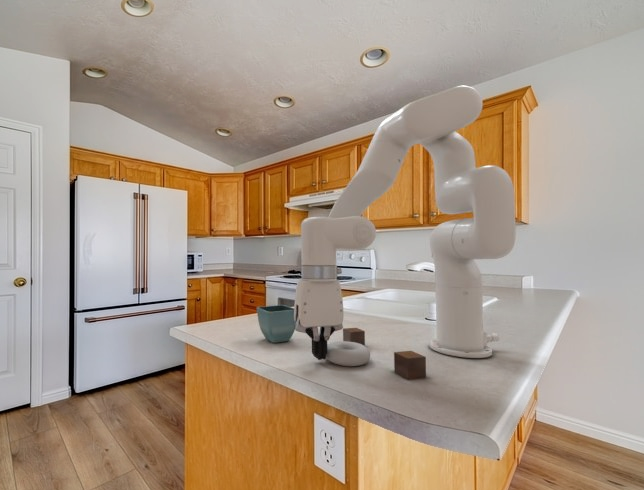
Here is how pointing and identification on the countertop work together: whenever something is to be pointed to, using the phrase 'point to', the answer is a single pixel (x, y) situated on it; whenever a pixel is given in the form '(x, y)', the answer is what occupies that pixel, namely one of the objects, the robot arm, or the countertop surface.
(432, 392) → the countertop surface
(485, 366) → the countertop surface
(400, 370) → the walnut block
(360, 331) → the walnut block
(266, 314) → the flower pot
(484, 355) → the robot arm
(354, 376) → the countertop surface
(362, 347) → the donut
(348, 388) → the countertop surface
